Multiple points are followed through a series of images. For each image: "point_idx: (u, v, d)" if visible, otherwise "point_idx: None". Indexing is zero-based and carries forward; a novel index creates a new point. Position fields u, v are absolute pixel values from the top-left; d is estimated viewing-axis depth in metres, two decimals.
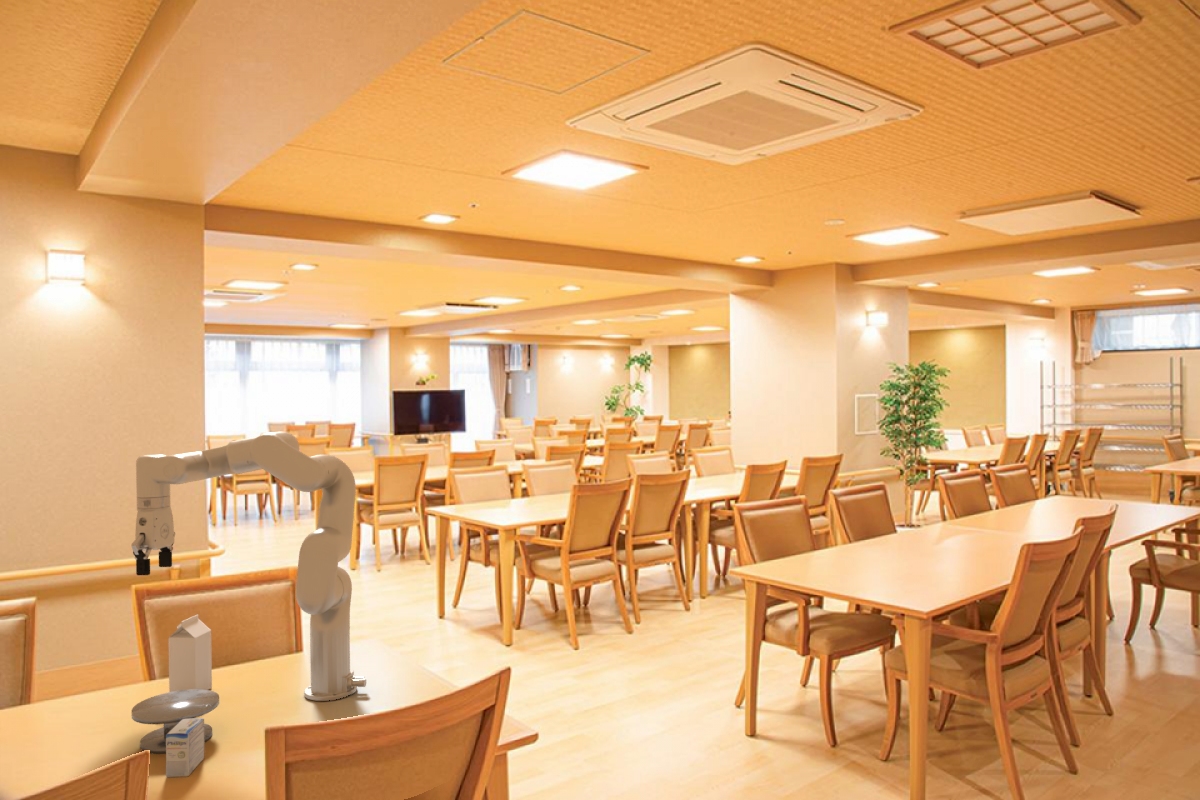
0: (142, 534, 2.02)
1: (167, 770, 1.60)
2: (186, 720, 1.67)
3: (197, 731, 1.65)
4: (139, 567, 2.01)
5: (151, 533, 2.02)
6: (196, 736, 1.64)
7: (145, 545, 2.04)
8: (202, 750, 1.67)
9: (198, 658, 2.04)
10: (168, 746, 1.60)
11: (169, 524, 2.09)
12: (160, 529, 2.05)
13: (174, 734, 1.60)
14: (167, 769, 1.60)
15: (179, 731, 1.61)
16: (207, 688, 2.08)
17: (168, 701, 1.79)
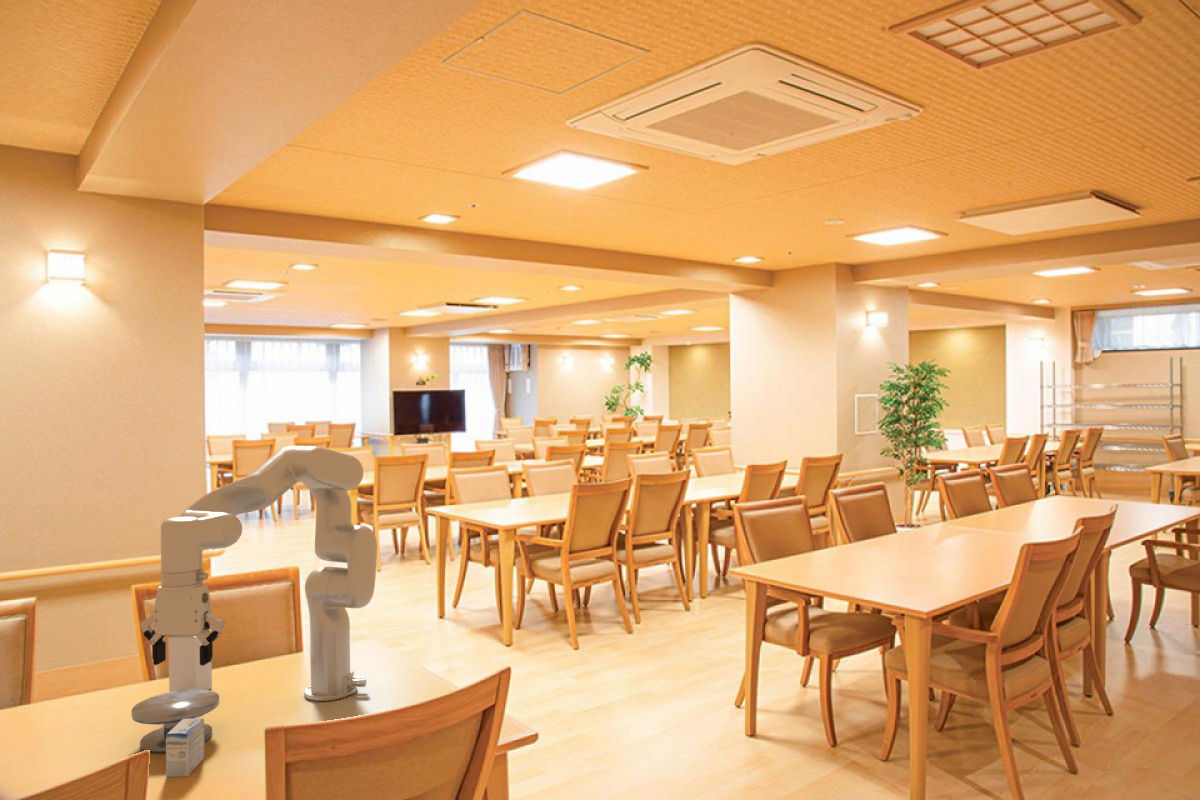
0: (207, 613, 1.65)
1: (167, 770, 1.60)
2: (186, 720, 1.67)
3: (197, 731, 1.65)
4: (209, 653, 1.64)
5: None
6: (196, 736, 1.64)
7: None
8: (202, 750, 1.67)
9: (198, 658, 2.04)
10: (168, 746, 1.60)
11: None
12: None
13: (174, 734, 1.60)
14: (167, 769, 1.60)
15: (179, 731, 1.61)
16: (207, 688, 2.08)
17: (168, 701, 1.79)
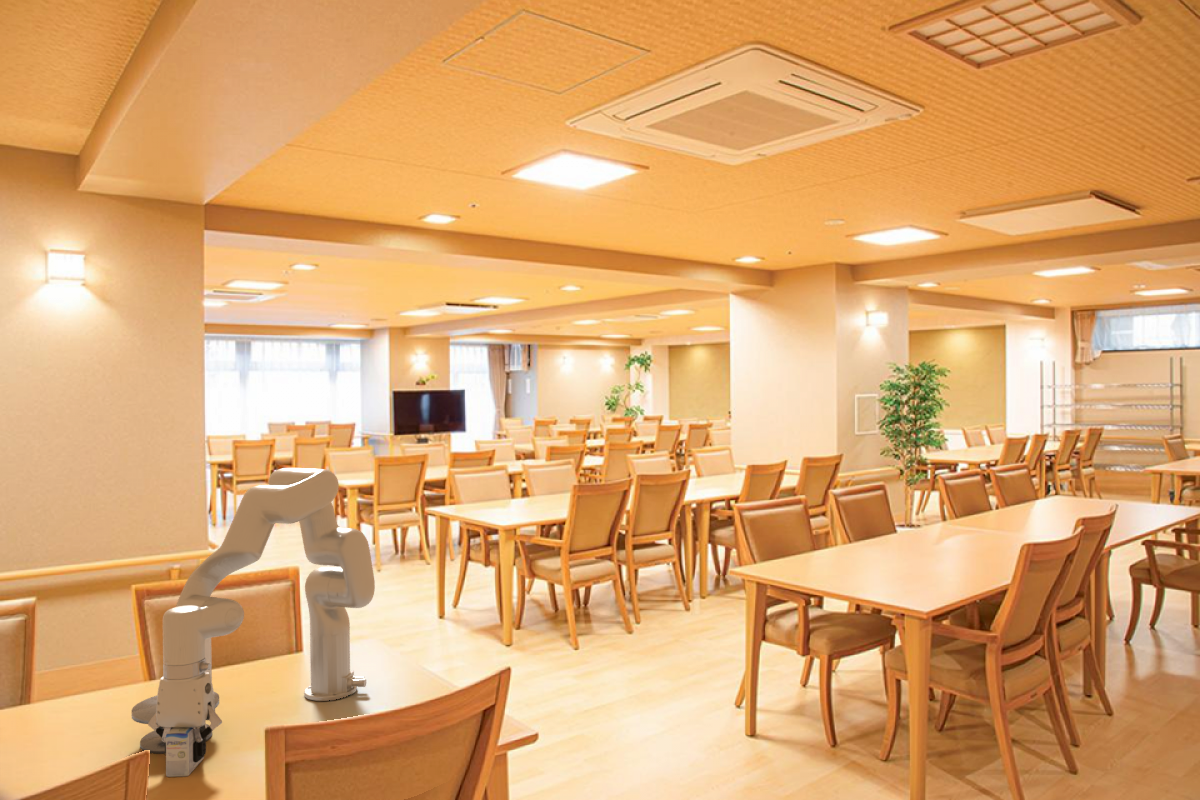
0: (209, 707, 1.64)
1: (167, 770, 1.60)
2: None
3: None
4: (202, 749, 1.64)
5: None
6: None
7: None
8: None
9: None
10: (168, 746, 1.60)
11: None
12: None
13: (174, 734, 1.60)
14: (167, 769, 1.60)
15: (179, 730, 1.61)
16: None
17: None
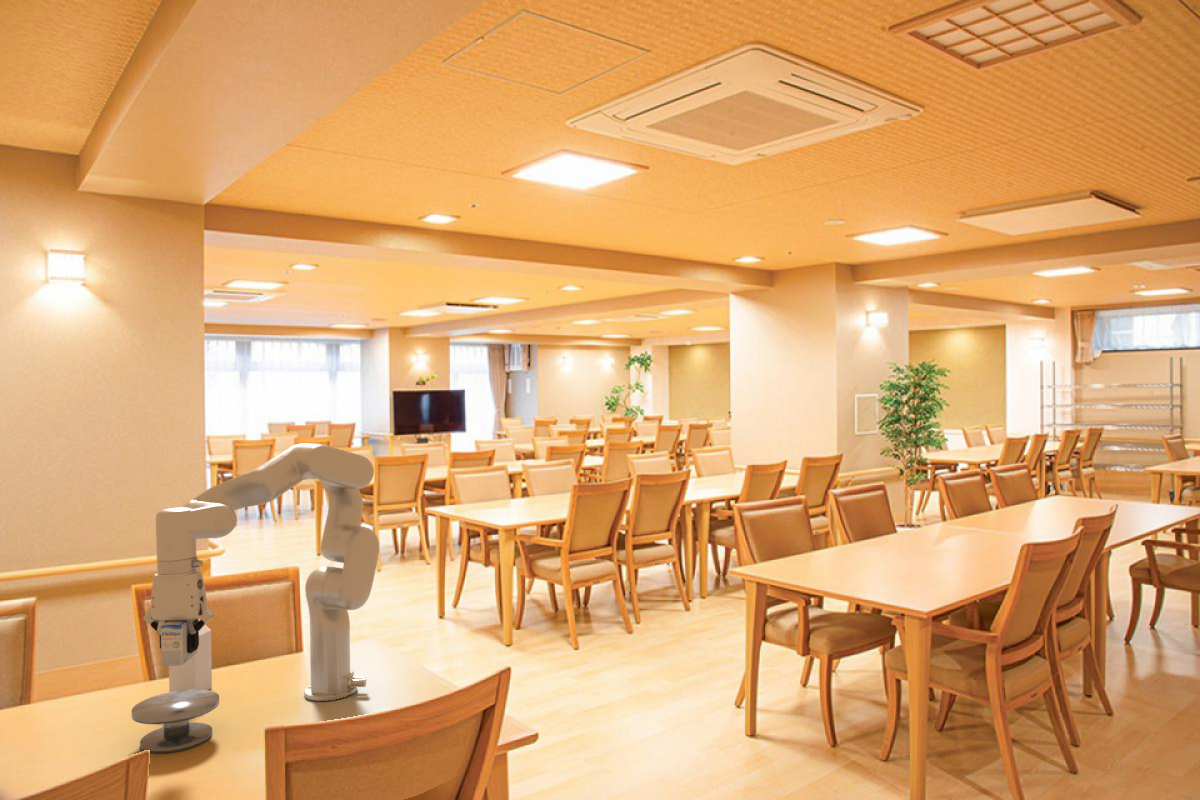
0: (201, 601, 1.73)
1: (162, 659, 1.69)
2: None
3: None
4: (195, 642, 1.73)
5: (205, 595, 1.76)
6: None
7: None
8: None
9: (198, 658, 2.04)
10: (163, 637, 1.69)
11: None
12: None
13: (169, 625, 1.70)
14: (162, 658, 1.69)
15: (173, 623, 1.71)
16: (207, 688, 2.08)
17: (168, 701, 1.79)
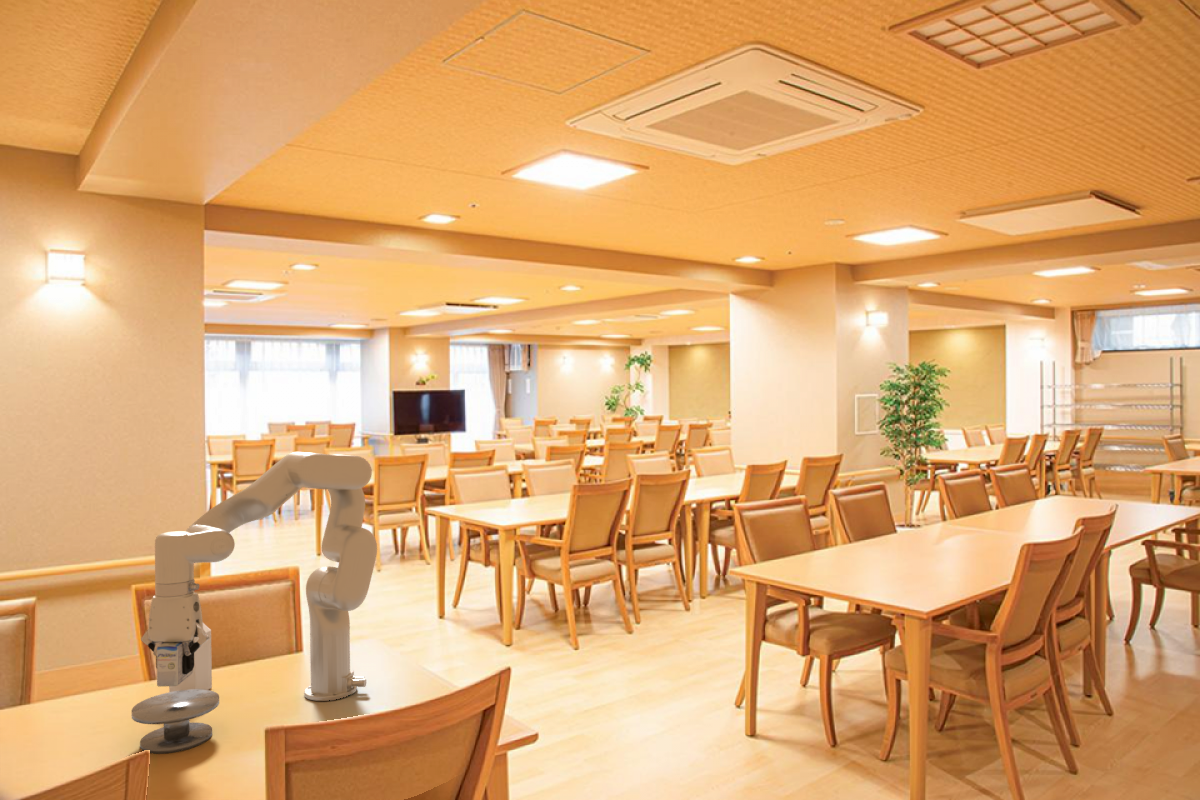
0: (197, 624, 1.78)
1: (158, 680, 1.74)
2: None
3: None
4: (191, 663, 1.77)
5: None
6: None
7: None
8: None
9: (198, 658, 2.04)
10: (159, 658, 1.74)
11: None
12: None
13: (165, 646, 1.74)
14: (158, 679, 1.74)
15: (169, 644, 1.75)
16: (207, 688, 2.08)
17: (168, 701, 1.79)
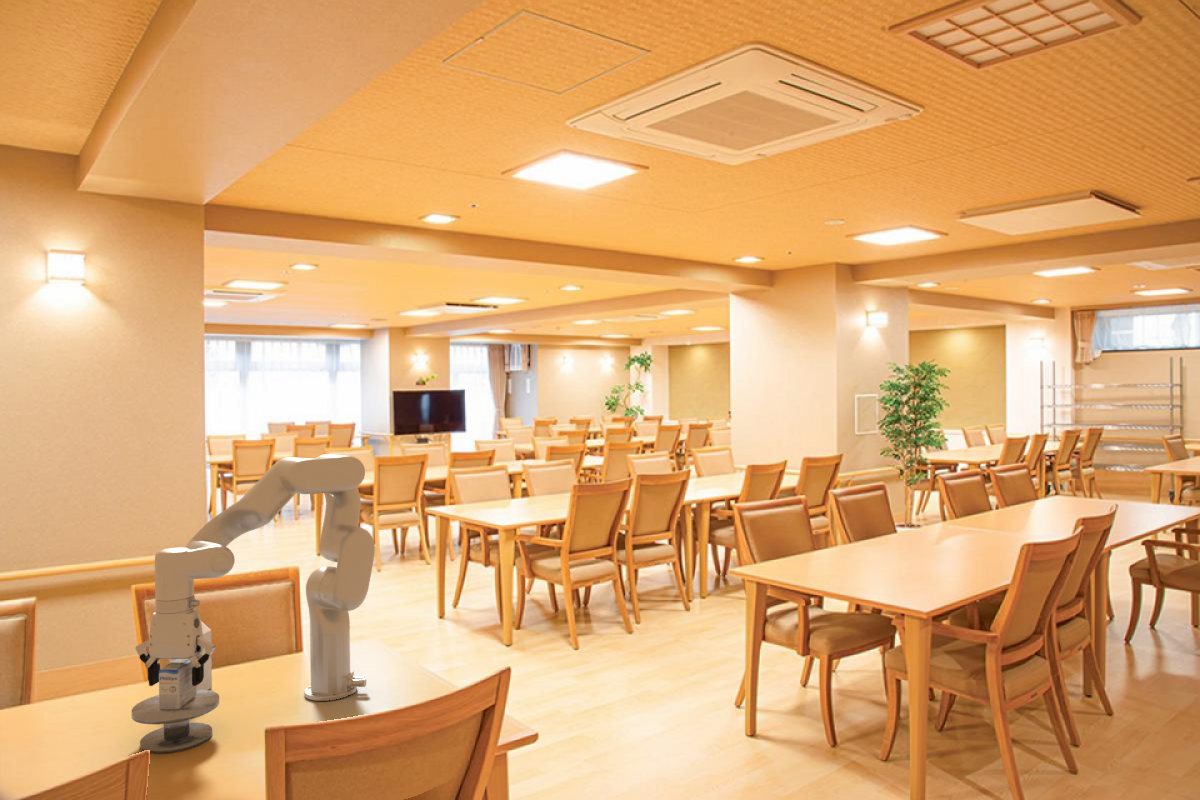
0: (198, 637, 1.78)
1: (160, 703, 1.74)
2: (180, 659, 1.81)
3: (189, 669, 1.79)
4: (200, 675, 1.77)
5: (202, 633, 1.80)
6: (188, 673, 1.78)
7: None
8: (194, 687, 1.81)
9: None
10: (161, 681, 1.74)
11: None
12: None
13: (166, 670, 1.74)
14: (160, 702, 1.74)
15: (171, 667, 1.75)
16: (207, 688, 2.08)
17: None
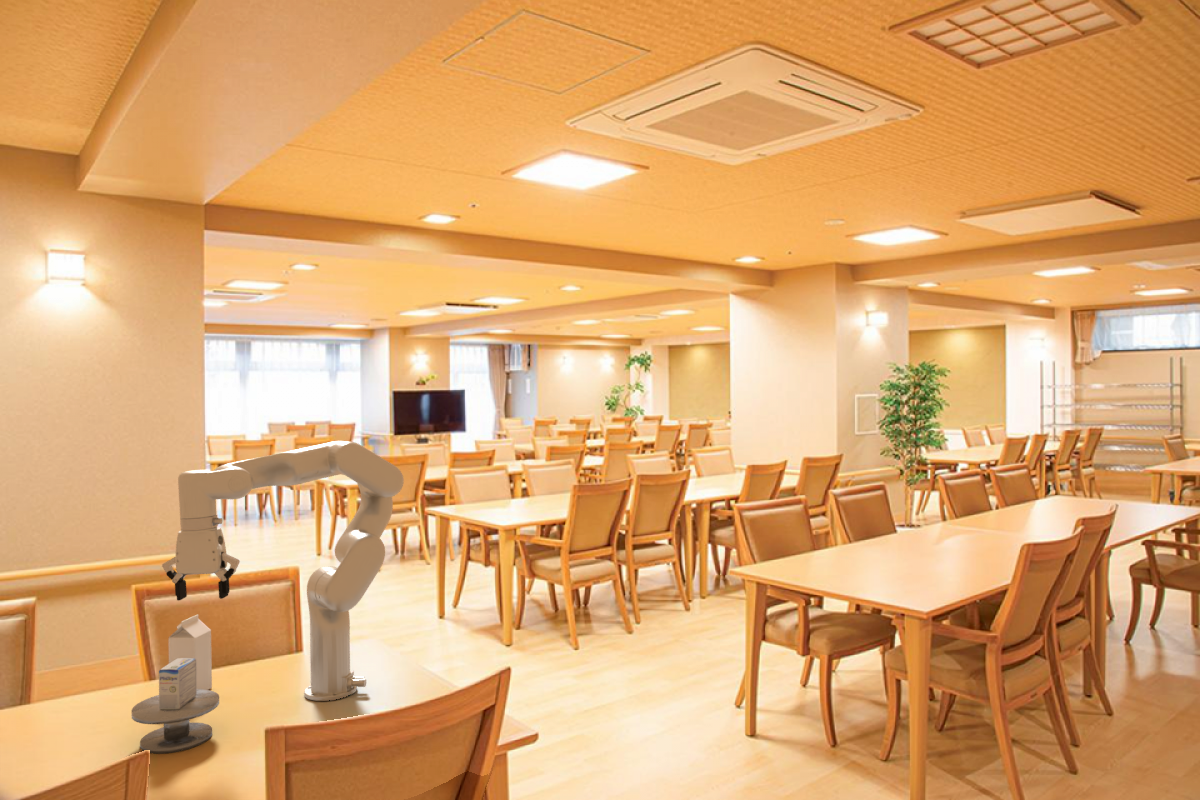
0: (223, 553, 1.87)
1: (160, 703, 1.74)
2: (180, 659, 1.81)
3: (189, 669, 1.79)
4: (226, 588, 1.87)
5: (225, 550, 1.89)
6: (188, 673, 1.78)
7: None
8: (194, 687, 1.81)
9: (198, 658, 2.04)
10: (161, 681, 1.74)
11: None
12: None
13: (166, 670, 1.74)
14: (160, 702, 1.74)
15: (171, 667, 1.75)
16: (207, 688, 2.08)
17: None
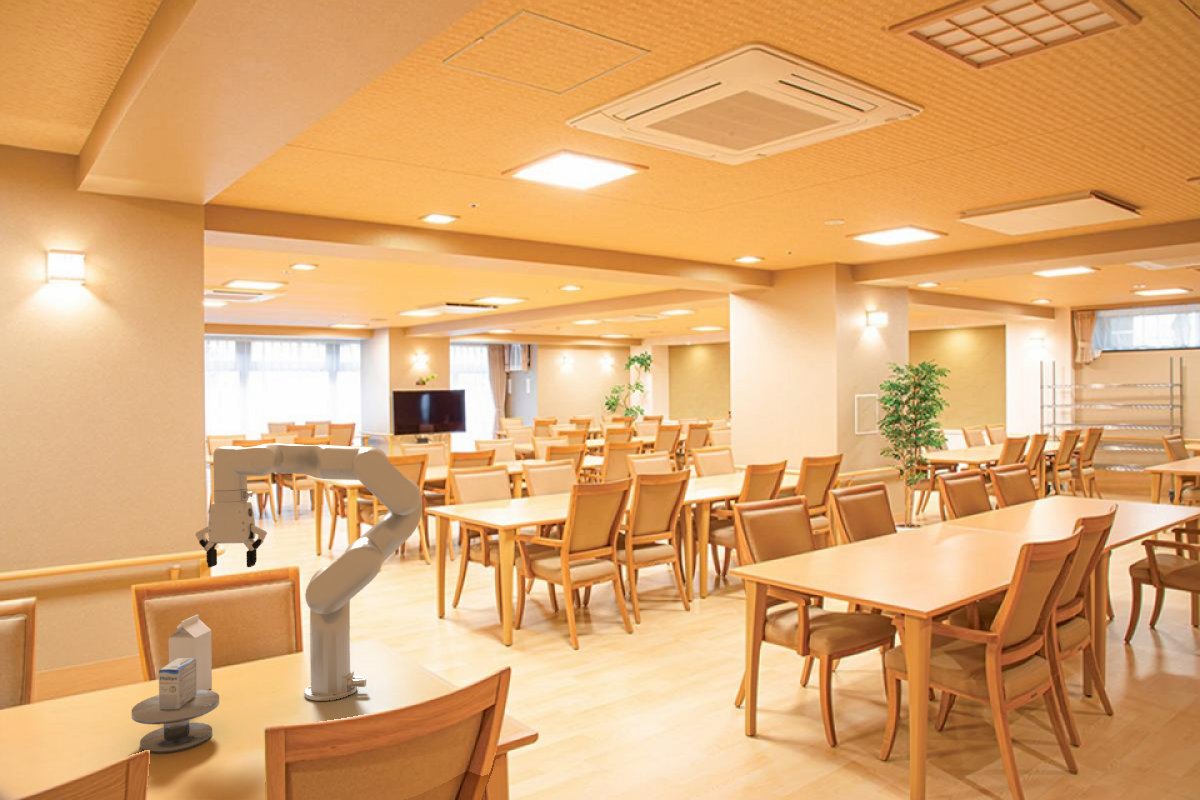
0: (252, 524, 2.00)
1: (160, 703, 1.74)
2: (179, 659, 1.81)
3: (189, 669, 1.79)
4: (254, 558, 2.00)
5: (254, 522, 2.02)
6: (188, 673, 1.78)
7: None
8: (194, 687, 1.81)
9: (198, 658, 2.04)
10: (161, 681, 1.74)
11: None
12: None
13: (166, 670, 1.74)
14: (160, 702, 1.74)
15: (171, 667, 1.75)
16: (207, 688, 2.08)
17: None
